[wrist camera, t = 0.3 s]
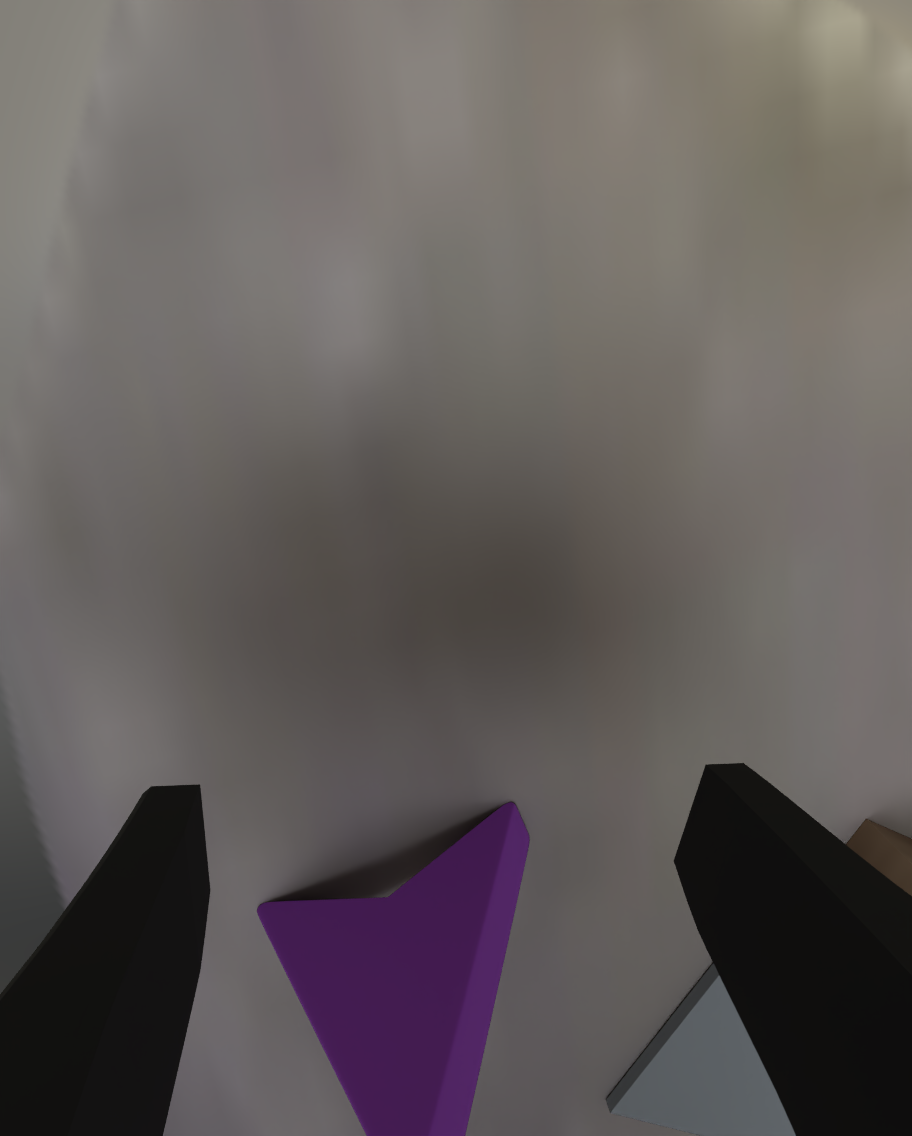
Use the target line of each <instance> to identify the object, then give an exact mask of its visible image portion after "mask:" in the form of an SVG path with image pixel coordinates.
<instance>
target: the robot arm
mask: <svg viewBox="0 0 912 1136" xmlns="http://www.w3.org/2000/svg"><path fill="white" fill-rule="evenodd" d="M674 863H675V866H676V869H677V872H678V875H679V878H680V881H681V884H682V887H683V890H684V893H685V896H686V899H687V902H688V905H689V907H690V910H691V913H692V915H693V918H694V921H695V924H696V926H697V929H698V931H699V934H700V936H701V938H702V940H703V942H704V944H705V946H706V949H707V951H708V953H709V955H710V957H711V959H712V961H713V963H714V965H715V967H716V969H717V971H718V974H719V976H720V978H721V980H722V982H723V984H724V986H725V988H726V990H727V992H728V994H729V996H730V998H731V1000H732V1002H733V1004H734V1006H735V1008H736V1010H737V1013H738V1015H739V1017H740V1019H741V1021H742V1023H743V1025H744V1027H745V1029H746V1031H747V1033H748V1035H749V1037H750V1039H751V1041H752V1043H753V1045H754V1047H755V1049H756V1051H757V1053H758V1055H759V1057H760V1059H761V1061H762V1064H763V1066H764V1068H765V1070H766V1072H767V1074H768V1076H769V1078H770V1080H771V1082H772V1084H773V1086H774V1088H775V1090H776V1092H777V1094H778V1097H779V1099H780V1101H781V1103H782V1106H783V1108H784V1110H785V1112H786V1114H787V1117H788V1119H789V1121H790V1123H791V1126H792V1128H793V1130H794V1133H795V1135H796V1136H912V896H911V895H909V894H908V893H907V892H905V891H904V890H903V889H902V888H900V887H899V886H898V885H896V884H895V883H894V882H892V881H891V880H890V879H889V878H887V877H886V876H885V875H883V874H882V873H881V872H880V871H878V870H877V869H876V868H874V867H873V866H872V865H871V864H869V863H868V862H867V861H866V860H864V859H863V858H862V857H861V856H859V855H858V854H857V853H856V852H854V851H853V850H852V849H851V848H849V847H848V846H847V845H846V844H844V843H843V842H842V841H841V840H839V839H838V838H837V837H836V836H834V835H833V834H832V833H831V832H829V831H828V830H827V829H826V828H825V827H823V826H822V825H821V824H820V823H818V822H817V821H816V820H815V819H813V818H812V817H811V816H810V815H809V814H807V813H806V812H805V811H804V810H802V809H801V808H800V807H799V806H797V805H796V804H795V803H794V802H792V801H791V800H790V799H789V798H788V797H786V796H785V795H784V794H783V793H781V792H780V791H779V790H778V789H776V788H775V787H774V786H773V785H771V784H770V783H769V782H768V781H766V780H765V779H764V778H762V777H761V776H760V775H759V774H757V773H756V772H755V771H753V770H752V769H751V768H749V767H748V766H747V765H745V764H744V763H735V764H709V765H706V766H705V769H704V772H703V775H702V778H701V781H700V784H699V787H698V790H697V793H696V796H695V799H694V802H693V805H692V808H691V811H690V814H689V817H688V820H687V823H686V826H685V829H684V832H683V835H682V838H681V841H680V844H679V847H678V850H677V853H676V856H675V859H674ZM209 897H210V882H209V872H208V861H207V851H206V841H205V830H204V820H203V810H202V799H201V789H200V785H177V786H151V787H150V788H149V789H148V790H147V791H145V792H144V793H143V794H142V796H141V798H140V799H139V801H138V803H137V804H136V806H135V808H134V809H133V811H132V813H131V814H130V816H129V817H128V819H127V820H126V822H125V824H124V825H123V827H122V828H121V830H120V832H119V833H118V835H117V836H116V838H115V839H114V841H113V842H112V844H111V845H110V847H109V848H108V850H107V851H106V853H105V854H104V856H103V857H102V859H101V860H100V862H99V863H98V865H97V866H96V867H95V869H94V870H93V872H92V873H91V875H90V876H89V878H88V879H87V881H86V882H85V883H84V885H83V886H82V888H81V889H80V890H79V892H78V893H77V894H76V896H75V897H74V899H73V900H72V901H71V903H70V904H69V905H68V907H67V908H66V910H65V911H64V912H63V914H62V915H61V916H60V918H59V919H58V921H57V922H56V923H55V925H54V926H53V927H52V929H51V930H50V932H49V933H48V934H47V936H46V937H45V939H44V940H43V941H42V942H41V944H40V945H39V946H38V947H37V949H36V950H35V952H34V953H33V954H32V955H31V957H30V958H29V959H28V960H27V962H26V963H25V964H24V965H23V967H22V968H21V969H20V970H19V972H18V973H17V974H16V975H15V977H14V978H13V979H12V980H11V982H10V983H9V984H8V985H7V987H6V988H5V989H4V990H3V992H2V993H1V994H0V1136H163V1132H164V1128H165V1124H166V1119H167V1115H168V1110H169V1106H170V1102H171V1097H172V1093H173V1089H174V1084H175V1080H176V1076H177V1071H178V1067H179V1063H180V1058H181V1054H182V1050H183V1045H184V1041H185V1036H186V1032H187V1028H188V1023H189V1019H190V1014H191V1010H192V1005H193V1001H194V997H195V992H196V988H197V983H198V979H199V974H200V969H201V961H202V954H203V946H204V938H205V930H206V922H207V914H208V905H209Z"/></svg>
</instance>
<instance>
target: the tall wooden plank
mask: <svg viewBox="0 0 912 1136" xmlns="http://www.w3.org/2000/svg"><path fill="white" fill-rule="evenodd" d="M846 845H847V846H848V847H849V848H851V849H852V850H853V851H854V852H856V853H857V854H858V855H859V856H861V857H862V858H863V859H864V860H866V861H867V862H868V863H869V864H871V865H872V866H873V867H874V868H876V869H877V870H878V871H880V872H881V873H882V874H883V875H885V876H886V877H887V878H889V879H890V880H891V881H892V882H894V883H895V884H896V885H898V886H899V887H900V888H902V889H903V890H904V891H905V892H907V893H908V894H909V895H911V896H912V839H910V838H908V837H906V836H904V835H901V834H899V833H897V832H894V831H892V830H890V829H888V828H885V827H883V826H881V825H879V824H876V823H874V822H872V821H870V820H867V819H866V820H865V821H864V822H863V824H862V825H861V826H860V827H859V829H858V830H857V831H856V832H855V834H854V835H853V836H852V837H851V839H850V840H849V841H848V842H847V844H846Z"/></svg>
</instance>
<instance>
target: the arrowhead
mask: <svg viewBox="0 0 912 1136" xmlns="http://www.w3.org/2000/svg"><path fill="white" fill-rule="evenodd" d="M529 840H530V839H529V834H528V832H527V829H526V827H525V825H524V823H523V820H522V818H521V816H520V814H519V811H518V809H517V807H516V805H515V804H514V803H512V802H509V803H506V804H504V805H503V806H501V807H500V808H499V809H497V810H496V811H495V812H494V813H492V814H491V815H490V816H489V817H487V818H486V819H485V820H483V821H482V822H481V823H480V824H478V825H477V826H476V827H475V828H473V829H472V830H471V831H470V832H468V833H467V834H466V835H465V836H463V837H462V838H461V839H460V840H458V841H457V842H456V843H455V844H453V845H452V846H451V847H450V848H448V849H447V850H446V851H445V852H443V853H442V854H441V855H440V856H439V857H437V858H436V859H435V860H434V861H432V862H431V863H430V864H429V865H427V866H426V867H425V868H424V869H422V870H421V871H420V872H419V873H417V874H416V875H415V876H414V877H412V878H411V879H410V880H409V881H407V882H406V883H405V884H404V885H402V886H401V887H400V888H399V889H397V890H396V891H395V892H394V893H392V894H391V895H390V896H389V897H383V898H355V899H327V900H301V901H278V902H266V903H263V904H261V905H260V906H259V907H258V909H257V913H258V916H259V918H260V920H261V922H262V925H263V927H264V929H265V931H266V933H267V935H268V937H269V939H270V941H271V943H272V945H273V947H274V949H275V951H276V953H277V956H278V958H279V960H280V962H281V964H282V966H283V968H284V970H285V972H286V974H287V976H288V978H289V980H290V982H291V984H292V986H293V988H294V990H295V992H296V994H297V996H298V998H299V1000H300V1002H301V1004H302V1006H303V1008H304V1010H305V1012H306V1014H307V1016H308V1018H309V1020H310V1022H311V1024H312V1026H313V1029H314V1031H315V1033H316V1035H317V1037H318V1039H319V1041H320V1043H321V1045H322V1047H323V1049H324V1051H325V1053H326V1055H327V1057H328V1059H329V1061H330V1063H331V1065H332V1067H333V1069H334V1071H335V1073H336V1075H337V1077H338V1079H339V1081H340V1083H341V1085H342V1087H343V1089H344V1091H345V1093H346V1095H347V1097H348V1099H349V1101H350V1103H351V1105H352V1107H353V1109H354V1111H355V1113H356V1115H357V1117H358V1119H359V1121H360V1123H361V1125H362V1127H363V1129H364V1131H365V1133H366V1135H367V1136H465V1133H466V1129H467V1125H468V1120H469V1116H470V1111H471V1107H472V1102H473V1098H474V1093H475V1089H476V1084H477V1080H478V1075H479V1071H480V1066H481V1062H482V1057H483V1053H484V1048H485V1044H486V1039H487V1035H488V1030H489V1026H490V1021H491V1017H492V1012H493V1008H494V1003H495V999H496V994H497V990H498V985H499V980H500V976H501V971H502V967H503V962H504V958H505V953H506V949H507V944H508V940H509V935H510V930H511V926H512V921H513V917H514V912H515V908H516V903H517V898H518V894H519V889H520V885H521V880H522V875H523V871H524V866H525V861H526V857H527V852H528V847H529Z"/></svg>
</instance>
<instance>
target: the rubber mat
mask: <svg viewBox="0 0 912 1136" xmlns="http://www.w3.org/2000/svg"><path fill="white" fill-rule="evenodd" d="M606 1101H607V1105H608V1108H609V1111H610V1113H612V1114H616V1115H620V1116H624V1117H628V1118H632V1119H636V1120H640V1121H644V1122H648V1123H652V1124H656V1125H660V1126H664V1127H668V1128H672V1129H676V1130H680V1131H684V1132H688V1133H692V1134H696V1135H700V1136H796V1135H795V1133H794V1130H793V1128H792V1126H791V1123H790V1121H789V1119H788V1117H787V1114H786V1112H785V1110H784V1108H783V1106H782V1103H781V1101H780V1099H779V1097H778V1094H777V1092H776V1090H775V1088H774V1086H773V1084H772V1082H771V1080H770V1078H769V1076H768V1074H767V1072H766V1070H765V1068H764V1066H763V1064H762V1061H761V1059H760V1057H759V1055H758V1053H757V1051H756V1049H755V1047H754V1045H753V1043H752V1041H751V1039H750V1037H749V1035H748V1033H747V1031H746V1029H745V1027H744V1025H743V1023H742V1021H741V1019H740V1017H739V1015H738V1013H737V1010H736V1008H735V1006H734V1004H733V1002H732V1000H731V998H730V996H729V994H728V992H727V990H726V988H725V986H724V984H723V982H722V980H721V978H720V976H719V974H718V971H717V969H716V967H715V965H714V963H713V964H712V965H711V967H710V968H709V969H708V970H707V972H706V973H705V974H704V975H703V977H702V978H701V979H700V981H699V982H698V983H697V984H696V986H695V987H694V988H693V990H692V991H691V992H690V993H689V995H688V996H687V997H686V998H685V1000H684V1001H683V1002H682V1004H681V1005H680V1006H679V1007H678V1009H677V1010H676V1011H675V1012H674V1014H673V1015H672V1016H671V1018H670V1019H669V1020H668V1021H667V1023H666V1024H665V1025H664V1026H663V1028H662V1029H661V1030H660V1032H659V1033H658V1034H657V1035H656V1037H655V1038H654V1039H653V1041H652V1042H651V1043H650V1044H649V1046H648V1047H647V1048H646V1049H645V1051H644V1052H643V1053H642V1055H641V1056H640V1057H639V1058H638V1060H637V1061H636V1062H635V1063H634V1065H633V1066H632V1067H631V1069H630V1070H629V1071H628V1072H627V1074H626V1075H625V1076H624V1077H623V1079H622V1080H621V1081H620V1083H619V1084H618V1085H617V1086H616V1088H615V1089H614V1090H613V1092H612V1093H611V1094H610V1095H609V1097H608V1098H607V1099H606Z"/></svg>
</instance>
